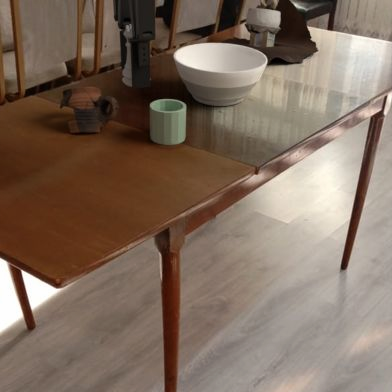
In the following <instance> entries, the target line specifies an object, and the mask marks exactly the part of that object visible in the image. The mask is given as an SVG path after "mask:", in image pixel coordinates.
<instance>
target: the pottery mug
mask: <svg viewBox="0 0 392 392" xmlns="http://www.w3.org/2000/svg"><path fill="white" fill-rule="evenodd" d="M61 93H62V98H61V100H60V105H59V109H60V110H61V109H63V107H67V108H69V107H70V108H71V109H73V114H74V116H75V119H72V120H69V121H68V122H67V126H68V129H69V133H70V134H79V133H87V134H89V133H90V134H91V133H96V134H97V133H100V132H101V124H102V126H104V127H106V126H108V124H109V122H110V121H112V120H114V119H115V118H116V116H117V114H118V112H119V110H120V109H119V108H120V107H119V104H118V103H119V102H118V101H117V99H116V98H115V97H113V96H110V95H105V96H103V95H102V89H101V88H99V87H97V86H77V87H70V88H67V89H64V90H62V92H61Z"/></svg>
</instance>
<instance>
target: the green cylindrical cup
mask: <svg viewBox="0 0 392 392" xmlns="http://www.w3.org/2000/svg"><path fill="white" fill-rule="evenodd" d="M186 129H187V104H186V103H185V102H183V101H181V100H179V99H172V98H163V99H157V100H154V101H152V102H150V103H149V138H150V140H151V142H152V141H153V143H156V144H159V145H163V146H173V145H179V144H181V143H183V142H185V140H186V136H187V135H186V134H187V133H186V132H187V130H186Z"/></svg>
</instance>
